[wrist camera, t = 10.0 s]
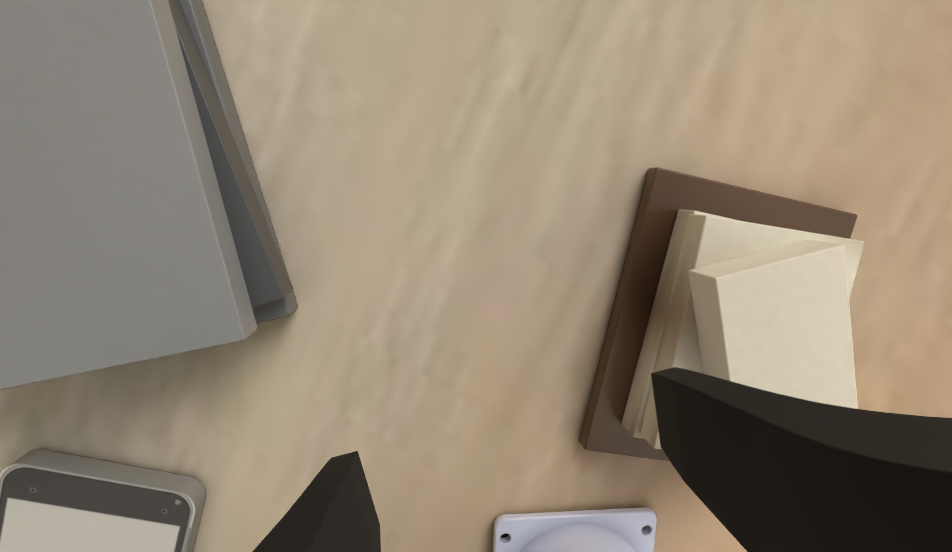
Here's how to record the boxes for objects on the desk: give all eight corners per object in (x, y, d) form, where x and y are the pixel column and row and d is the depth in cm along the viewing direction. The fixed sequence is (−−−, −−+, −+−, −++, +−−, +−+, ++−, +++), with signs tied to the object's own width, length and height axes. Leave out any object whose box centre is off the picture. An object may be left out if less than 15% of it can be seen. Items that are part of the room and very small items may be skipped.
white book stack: (763, 467, 25) (817, 509, 22) (578, 441, 23) (605, 482, 20) (843, 213, 23) (915, 218, 20) (648, 168, 22) (690, 163, 18)
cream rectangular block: (823, 421, 21) (861, 443, 19) (714, 454, 21) (742, 478, 19) (806, 239, 19) (844, 243, 18) (687, 270, 19) (715, 278, 17)
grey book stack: (308, 304, 21) (283, 333, 17) (57, 367, 20) (-35, 414, 16) (203, -36, 18) (142, -102, 14) (-90, 20, 17) (-246, -32, 13)
